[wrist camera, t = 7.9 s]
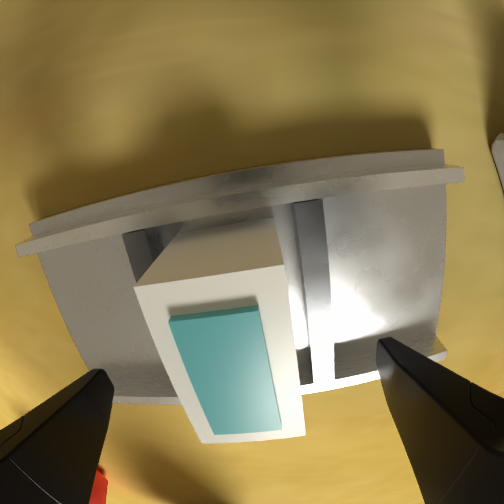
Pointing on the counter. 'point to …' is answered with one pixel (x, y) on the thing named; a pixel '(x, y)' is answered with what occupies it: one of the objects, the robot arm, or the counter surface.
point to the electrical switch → (499, 155)
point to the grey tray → (293, 252)
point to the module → (227, 331)
